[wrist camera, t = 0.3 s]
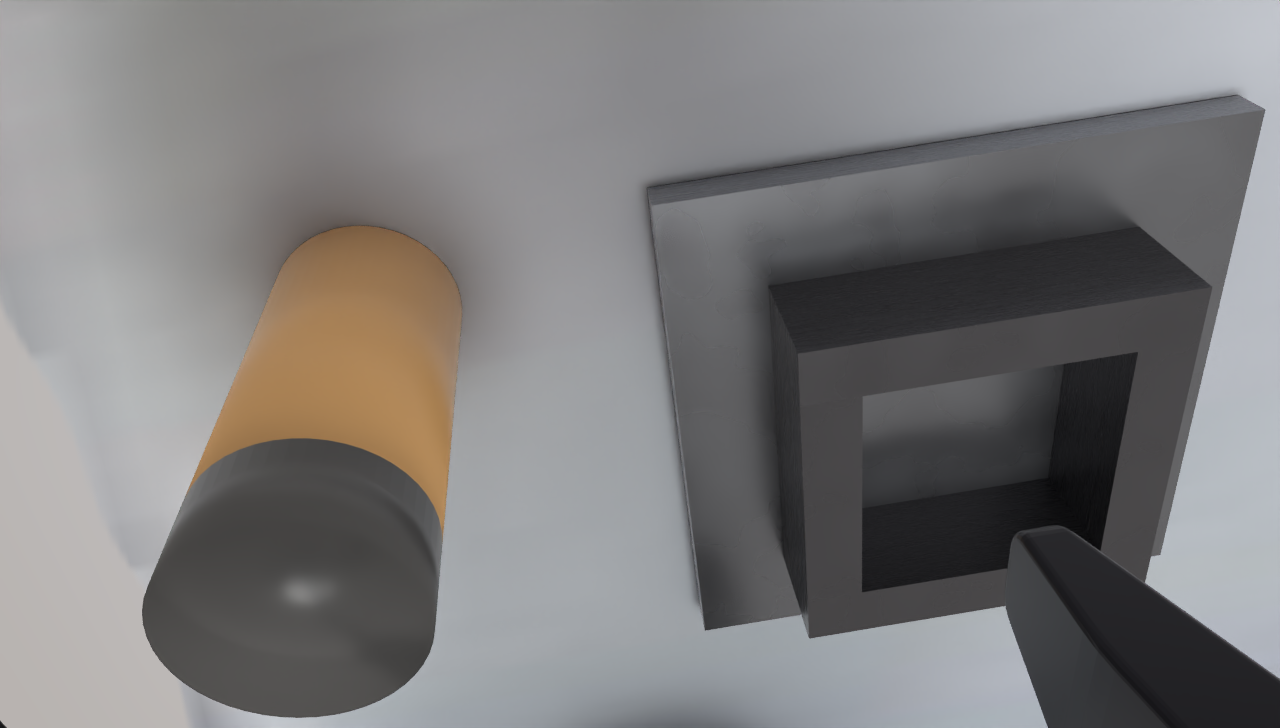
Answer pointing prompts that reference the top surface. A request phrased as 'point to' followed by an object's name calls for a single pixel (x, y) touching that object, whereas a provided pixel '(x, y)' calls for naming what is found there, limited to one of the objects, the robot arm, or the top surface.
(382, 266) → the grey-capped orange cylinder
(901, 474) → the grey square socket
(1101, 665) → the robot arm
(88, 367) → the top surface
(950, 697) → the top surface
